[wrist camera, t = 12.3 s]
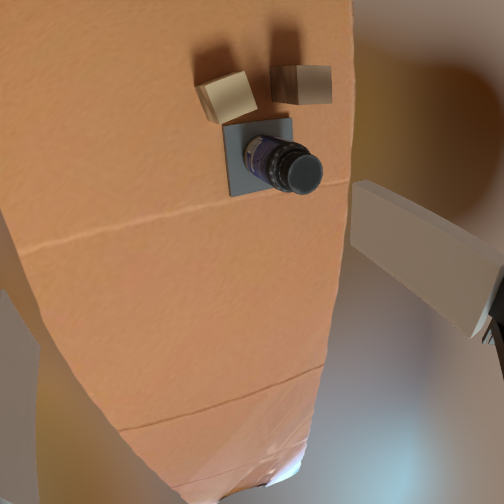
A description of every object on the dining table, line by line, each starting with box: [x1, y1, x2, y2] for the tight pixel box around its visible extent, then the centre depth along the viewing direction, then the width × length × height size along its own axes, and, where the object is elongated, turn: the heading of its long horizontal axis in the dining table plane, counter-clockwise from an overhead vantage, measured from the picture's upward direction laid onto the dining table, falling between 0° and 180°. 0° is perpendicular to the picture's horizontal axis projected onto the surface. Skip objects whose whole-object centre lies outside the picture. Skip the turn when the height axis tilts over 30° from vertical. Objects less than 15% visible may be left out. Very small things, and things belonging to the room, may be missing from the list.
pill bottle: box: [243, 134, 323, 195], centre depth 38 cm, size 6×6×11 cm
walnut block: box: [270, 65, 332, 105], centre depth 37 cm, size 5×5×7 cm
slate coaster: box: [222, 117, 293, 197], centre depth 43 cm, size 10×10×1 cm
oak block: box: [195, 71, 258, 124], centre depth 35 cm, size 5×5×5 cm
